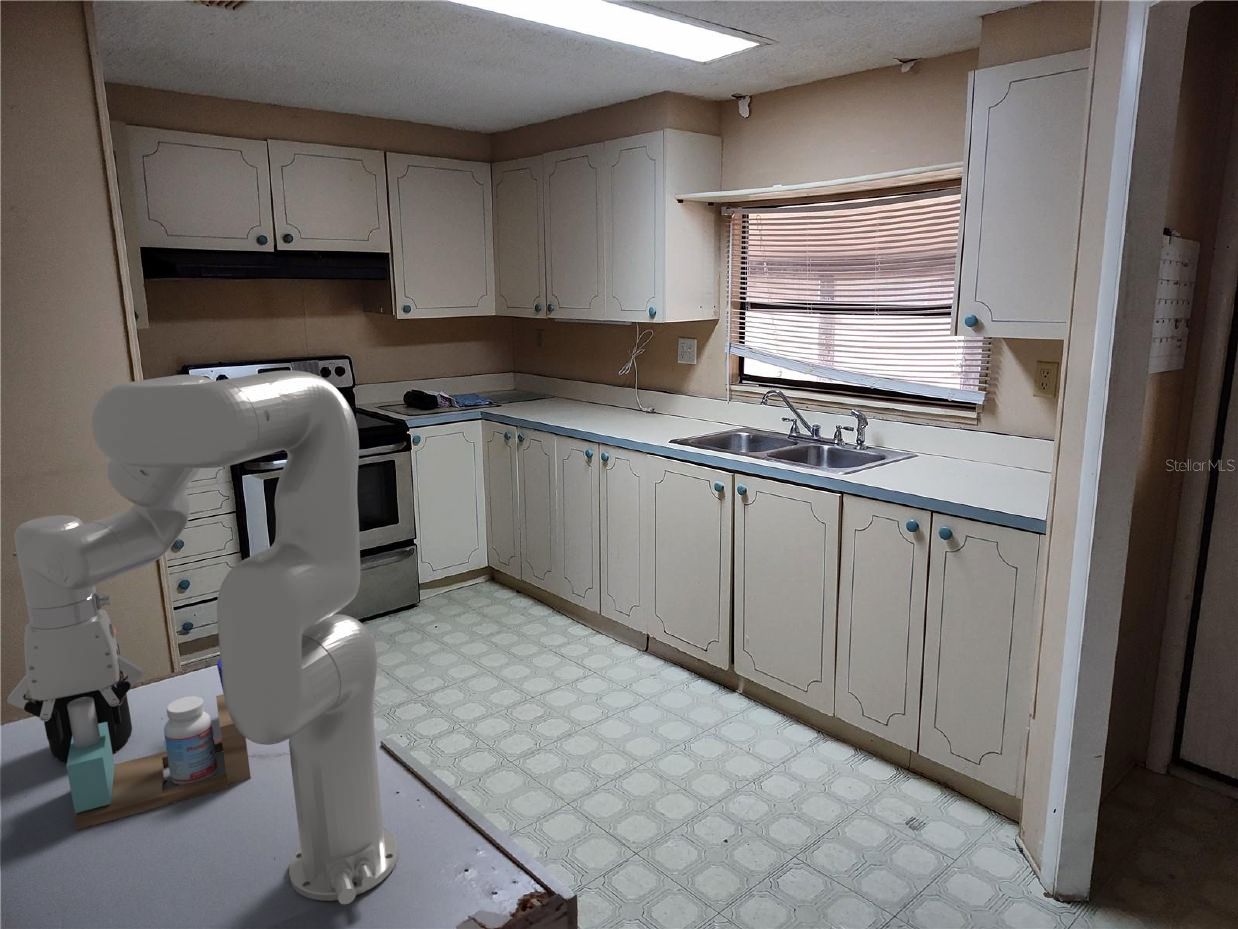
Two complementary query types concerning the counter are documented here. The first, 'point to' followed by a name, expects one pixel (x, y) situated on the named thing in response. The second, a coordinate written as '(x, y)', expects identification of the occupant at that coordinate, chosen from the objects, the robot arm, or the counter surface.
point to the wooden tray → (144, 778)
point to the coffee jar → (100, 703)
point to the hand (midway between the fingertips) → (86, 734)
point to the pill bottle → (189, 741)
